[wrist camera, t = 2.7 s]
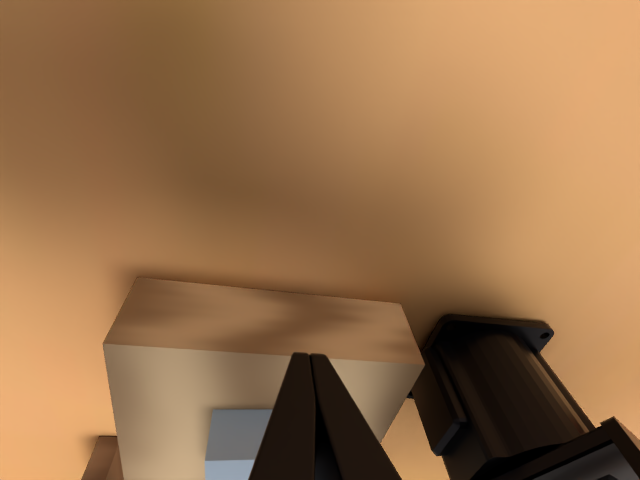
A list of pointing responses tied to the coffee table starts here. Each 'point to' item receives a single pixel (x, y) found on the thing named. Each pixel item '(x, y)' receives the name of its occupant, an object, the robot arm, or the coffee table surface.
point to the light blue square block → (234, 442)
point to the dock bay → (105, 461)
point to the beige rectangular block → (239, 363)
